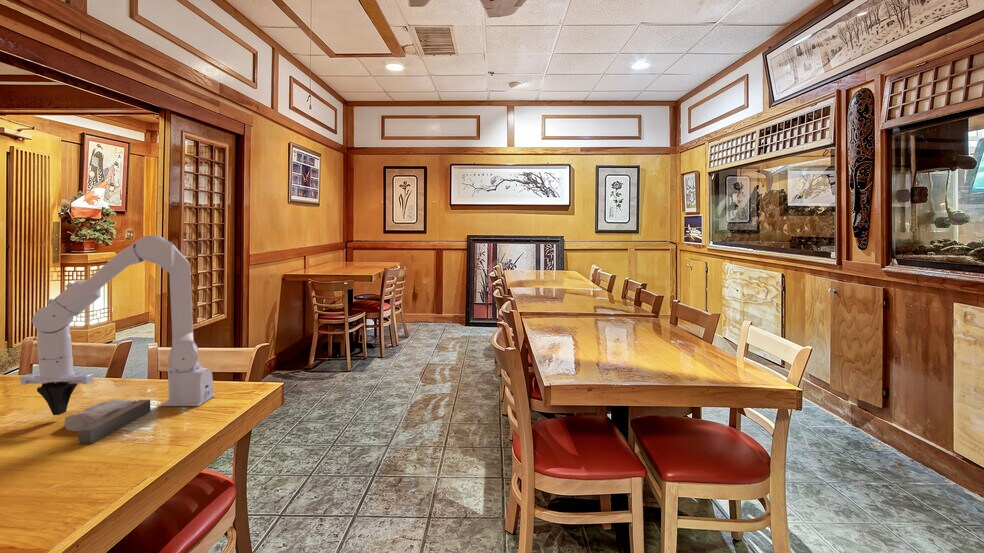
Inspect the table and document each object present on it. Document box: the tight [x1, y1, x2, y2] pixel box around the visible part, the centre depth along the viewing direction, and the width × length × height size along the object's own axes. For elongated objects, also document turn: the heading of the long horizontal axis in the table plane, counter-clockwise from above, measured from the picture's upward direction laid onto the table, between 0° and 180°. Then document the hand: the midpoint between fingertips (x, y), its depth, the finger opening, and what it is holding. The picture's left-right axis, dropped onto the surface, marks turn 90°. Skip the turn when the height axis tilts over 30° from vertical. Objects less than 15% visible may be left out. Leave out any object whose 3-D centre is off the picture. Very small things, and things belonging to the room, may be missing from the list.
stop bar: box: [77, 399, 152, 445], centre depth 104 cm, size 2×18×3 cm, turn 3°
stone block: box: [63, 399, 138, 432], centre depth 107 cm, size 12×5×10 cm
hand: (59, 413), depth 107 cm, fingers closed
